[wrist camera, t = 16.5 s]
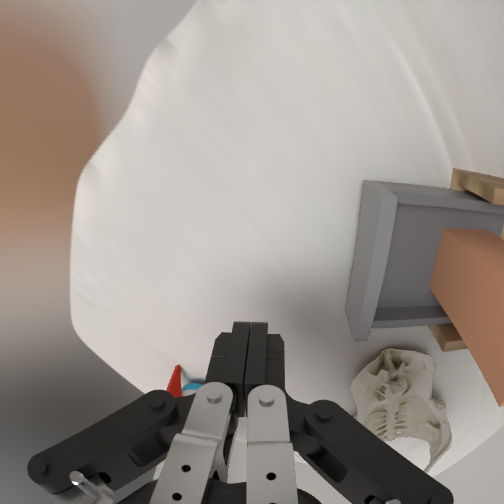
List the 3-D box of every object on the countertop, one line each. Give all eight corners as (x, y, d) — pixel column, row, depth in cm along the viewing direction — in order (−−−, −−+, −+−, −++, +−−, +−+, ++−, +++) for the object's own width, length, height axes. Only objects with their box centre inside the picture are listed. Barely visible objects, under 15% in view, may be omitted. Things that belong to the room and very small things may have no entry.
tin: (443, 227, 18) (555, 345, 7) (490, 230, 18) (594, 328, 6) (428, 287, 20) (504, 417, 9) (473, 285, 20) (552, 394, 9)
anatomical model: (347, 501, 30) (319, 445, 19) (342, 452, 38) (311, 362, 27) (444, 472, 27) (491, 386, 16) (430, 426, 35) (451, 318, 24)
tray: (363, 180, 18) (381, 196, 15) (503, 197, 17) (530, 213, 14) (345, 309, 23) (354, 341, 19) (472, 303, 22) (490, 328, 18)
